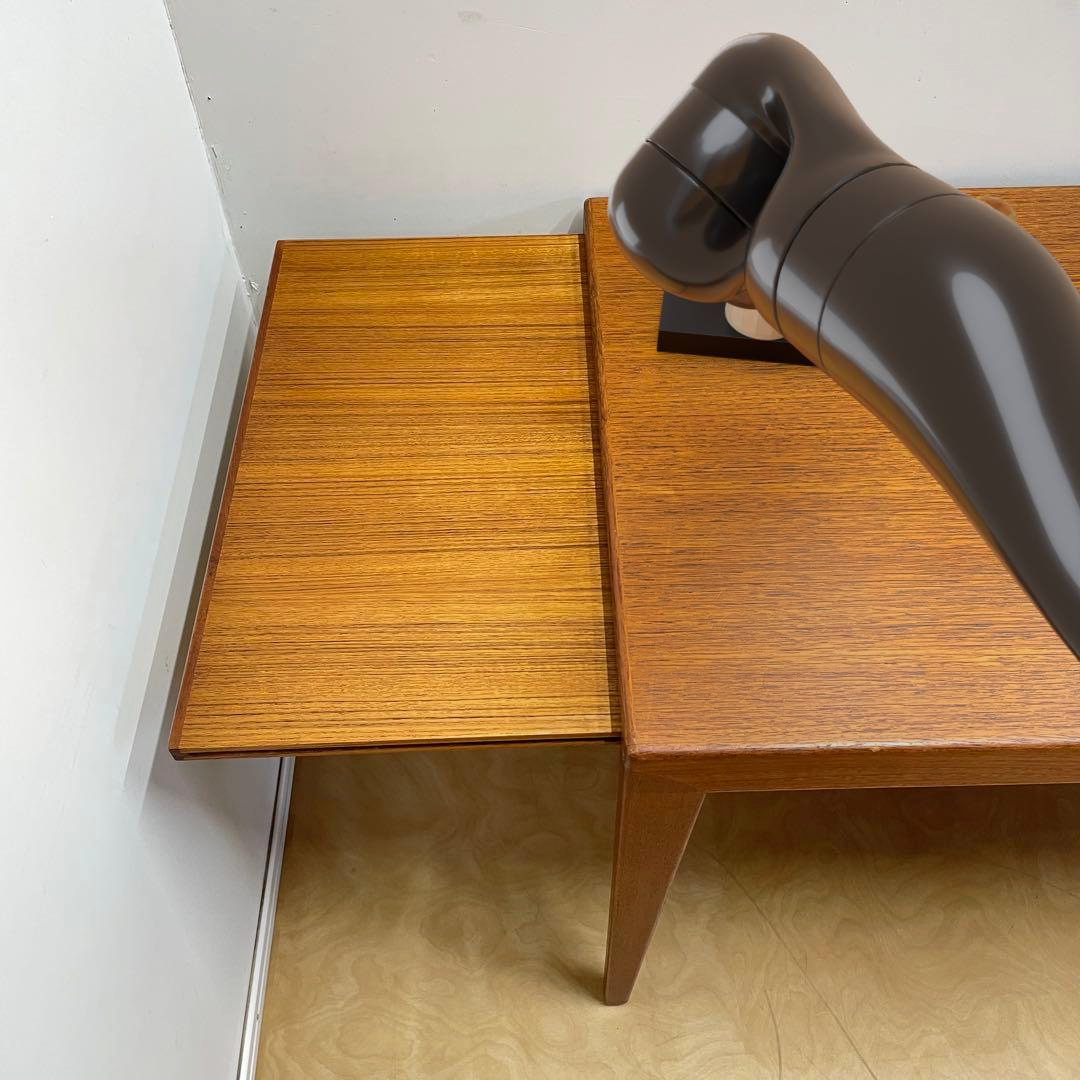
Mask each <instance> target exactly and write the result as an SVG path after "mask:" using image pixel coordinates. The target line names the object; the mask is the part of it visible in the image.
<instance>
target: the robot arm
mask: <svg viewBox="0 0 1080 1080" xmlns="http://www.w3.org/2000/svg"><path fill="white" fill-rule="evenodd" d="M644 140H645V141H641V142H640V143H639V144H638V145H637V147H636V148H635V149H634V150H633V151H632V153H631V154H630V155H629V156H628V157H627V159H626V160H625V161H624V163H623V164H622V165H621V167H620V169H619V170H618V171H617V173H616V176H615V177H614V179H613V181H612V184H611V187H610V190H609V195H608V199H607V206H606V214H607V223H608V227H609V231H610V233H611V236H612V238H613V240H614V242H615V244H616V246H617V248H618V249H619V251H620V252H621V254H622V255H623V257H624V258H625V260H627V262H628V264H630V265H631V266H632V267H633V269H635V270H636V271H637V273H639V274H640V275H641V276H642V277H643V278H645V279H646V280H647V281H649V282H650V283H652V284H653V285H654V286H656V287H658V288H660V289H662V291H664V290H665V291H667V292H670V293H672V294H674V295H677V296H679V297H682V298H685V299H689V300H692V301H697V302H707V303H716V302H722V301H725V302H726V303H728V304H731V305H733V306H736V307H739V308H743V309H751V310H757V311H758V312H759V314H760V315H761V316H762V317H763V318H764V320H765V321H766V322H767V323H768V324H769V325H770V326H772V327H773V328H774V329H775V330H776V331H777V332H778V333H779V334H780V335H782V336H783V337H784V338H785V339H786V340H787V341H788V342H790V343H791V344H792V345H793V346H794V347H795V348H796V349H798V350H799V351H800V352H801V353H802V354H803V355H804V356H806V357H807V358H808V359H809V360H810V361H811V362H813V363H814V364H815V365H816V366H815V367H817V368H818V369H819V370H821V371H822V372H823V373H824V374H825V375H826V376H827V377H829V378H830V379H831V380H832V381H833V382H835V384H837V386H839V387H840V388H841V389H843V390H844V391H845V392H846V393H847V394H848V395H849V396H851V397H852V398H853V399H854V400H856V401H857V402H858V403H859V404H860V405H862V406H863V407H864V408H865V409H866V410H868V412H869V413H871V414H872V415H873V416H874V417H875V418H876V419H877V420H878V421H879V422H880V423H881V424H882V425H884V427H885V428H886V429H887V430H888V431H889V432H891V433H892V434H893V435H894V436H895V437H896V438H897V440H898V441H899V442H900V443H901V444H902V445H903V446H904V447H905V448H906V449H907V450H908V451H909V453H910V454H911V455H912V456H914V458H915V459H916V460H917V461H918V462H919V463H920V464H921V465H922V467H924V469H925V470H926V471H927V472H928V473H929V474H930V476H931V477H932V478H933V479H934V480H935V481H936V482H937V484H939V486H940V487H941V488H942V489H943V490H944V491H945V493H946V494H947V495H948V497H949V498H950V499H951V500H952V501H953V503H954V504H955V506H956V507H957V508H958V509H959V511H960V512H961V513H962V515H964V517H965V518H966V519H967V521H968V522H969V523H970V525H971V526H972V527H973V529H974V530H975V531H976V532H977V534H978V535H979V536H980V537H981V539H982V540H983V542H984V543H985V544H986V545H987V546H988V548H989V549H990V551H991V552H992V553H993V555H994V556H995V557H996V558H997V560H998V561H999V562H1000V563H1001V566H1003V568H1004V569H1005V570H1006V572H1007V573H1008V574H1009V576H1010V577H1011V579H1013V581H1014V582H1015V584H1016V585H1017V587H1019V589H1020V590H1021V591H1022V592H1023V594H1024V595H1025V596H1026V598H1027V599H1028V600H1029V601H1030V603H1031V604H1032V605H1033V606H1034V607H1035V609H1036V610H1037V612H1038V613H1039V614H1040V615H1041V616H1042V617H1043V619H1044V620H1045V622H1046V623H1047V624H1048V625H1049V627H1050V629H1052V631H1053V632H1054V634H1055V635H1056V636H1057V637H1058V638H1059V639H1060V641H1061V642H1062V643H1063V644H1064V646H1065V647H1066V648H1067V650H1068V651H1069V652H1070V653H1071V654H1072V656H1073V657H1074V658H1075V659H1076V661H1077V662H1078V663H1079V664H1080V292H1079V290H1078V289H1077V287H1076V285H1075V284H1074V283H1073V281H1072V279H1071V278H1070V276H1069V275H1068V273H1067V272H1066V270H1065V269H1064V268H1063V265H1061V264H1060V263H1059V261H1058V260H1057V259H1056V258H1055V257H1054V256H1053V255H1054V254H1052V253H1051V252H1050V251H1049V250H1048V249H1047V248H1046V247H1045V246H1044V245H1043V244H1042V243H1041V242H1040V241H1039V240H1038V239H1037V238H1035V237H1034V236H1033V235H1032V234H1031V233H1030V232H1029V231H1027V230H1026V228H1024V227H1023V226H1021V225H1020V224H1019V223H1018V222H1017V223H1018V224H1017V223H1015V222H1014V221H1012V220H1011V219H1009V218H1008V217H1007V216H1005V215H1004V214H1002V213H1001V212H999V211H997V210H995V209H993V208H991V207H990V206H988V205H986V204H984V203H982V202H981V201H978V200H976V199H975V198H976V197H973V196H971V195H969V194H968V193H965V192H964V191H962V190H961V189H959V188H957V187H955V186H954V185H953V186H952V185H951V184H950V183H948V182H945V181H944V180H942V179H940V178H939V177H937V176H934V175H933V174H931V173H929V172H927V171H925V170H923V169H921V168H919V167H918V166H916V165H915V164H913V163H911V162H909V161H908V160H906V158H904V157H902V156H901V155H899V154H898V153H897V152H895V150H894V149H892V148H891V147H890V146H889V145H888V144H886V143H885V142H884V141H883V140H882V139H881V138H880V137H879V136H878V135H877V134H876V133H875V132H874V131H873V130H872V129H871V128H870V126H869V125H868V124H867V123H866V121H864V119H863V118H862V117H861V115H860V114H859V112H858V111H857V110H856V108H855V106H854V105H853V103H852V102H851V100H850V99H849V97H848V96H847V94H846V93H845V90H843V88H842V87H841V85H840V84H839V82H838V81H837V79H836V78H835V77H834V75H833V74H832V73H831V71H830V70H829V69H828V68H827V66H825V64H824V63H823V62H822V61H821V60H820V59H819V58H818V56H817V55H816V54H815V53H813V52H812V51H811V50H810V49H809V48H808V47H806V46H805V45H804V44H802V43H800V42H799V41H798V40H795V38H792V37H790V36H787V35H785V34H781V33H776V32H756V33H750V34H745V35H743V36H740V37H737V38H735V39H733V40H731V41H729V42H727V43H726V44H724V45H723V46H722V47H720V48H719V49H718V50H716V52H714V53H713V54H712V55H711V56H710V58H709V59H707V61H706V62H705V63H704V65H702V67H701V68H700V69H699V70H698V72H697V73H696V74H695V75H694V76H693V77H692V79H691V80H690V82H689V83H688V85H687V86H686V87H685V88H684V89H683V91H682V92H681V93H680V94H679V95H678V97H677V98H676V99H675V101H674V102H672V104H671V105H670V107H668V108H667V110H666V111H665V113H663V115H662V116H661V117H660V119H659V120H658V121H657V122H656V123H655V125H654V126H652V128H651V130H650V131H648V133H647V134H646V136H645V137H644Z"/></svg>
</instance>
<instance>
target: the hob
mask: <svg viewBox="0 0 1080 1080" xmlns="http://www.w3.org/2000/svg"><path fill="white" fill-rule="evenodd" d="M661 301H662V303H661V310H660V315H659V316H660V317H659V322H658V330H657V341H656V352H664V353H675V354H682V355H683V354H685V355H695V356H703V357H704V356H705V357H715V358H725V359H736V360H744V361H745V360H746V361H758V362H766V363H778V364H789V365H798V366H799V365H800V366H808V367H817V366H816V365H815V364H814V363H813V362H811V361H810V360H809V359H808V358H807V357H806V356H804V355H803V354H802V353H801V352H800V351H799V350H798V349H796V348H795V347H794V346H793V345H792V344H791V343H790V342H788V341H787V340H786V339H785V338H781V339H775V340H760V339H755V338H751V337H748V336H745V335H743V334H741V333H740V332H738V331H737V330H735V329H734V328H733V327H732V326H731V325H730V324H729V322H728V321H727V318H726V316H725V306H726V302H725V301H722V302H716V303H707V302H697V301H692V300H689V299H685V298H682V297H679V296H677V295H674V294H672V293H670V292H667V291H665V290H663V295H662V300H661Z"/></svg>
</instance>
